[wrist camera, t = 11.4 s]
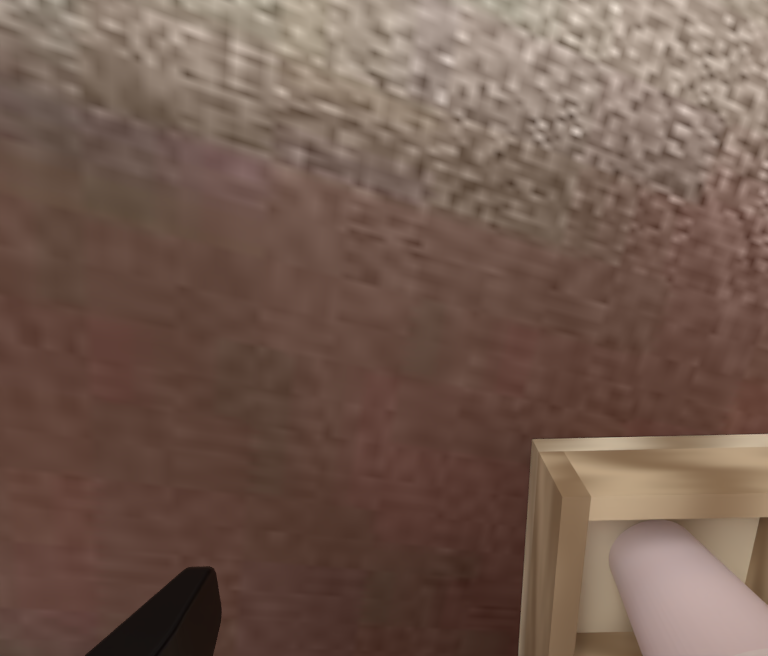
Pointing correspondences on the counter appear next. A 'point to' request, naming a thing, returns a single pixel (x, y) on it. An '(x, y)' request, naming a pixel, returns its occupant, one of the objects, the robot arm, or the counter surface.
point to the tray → (621, 511)
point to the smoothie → (684, 595)
